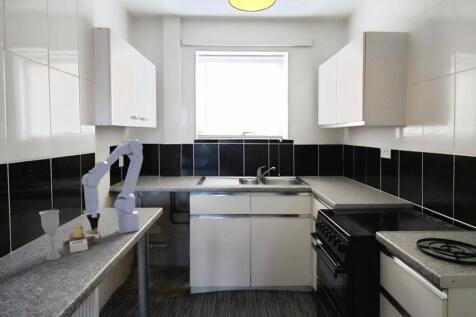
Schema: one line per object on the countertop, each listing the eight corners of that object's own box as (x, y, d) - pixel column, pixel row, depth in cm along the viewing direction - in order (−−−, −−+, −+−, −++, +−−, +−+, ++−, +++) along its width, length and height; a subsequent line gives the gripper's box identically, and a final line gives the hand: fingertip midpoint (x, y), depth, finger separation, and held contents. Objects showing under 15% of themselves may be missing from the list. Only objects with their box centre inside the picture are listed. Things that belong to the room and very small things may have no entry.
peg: (85, 240, 160) (83, 224, 159) (85, 242, 156) (84, 226, 155) (73, 241, 158) (72, 226, 157) (74, 244, 154) (72, 228, 153)
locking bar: (96, 231, 162) (96, 227, 162) (98, 237, 152) (98, 233, 152) (83, 233, 160) (83, 229, 160) (85, 240, 150) (84, 235, 150)
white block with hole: (86, 245, 153) (86, 238, 153) (87, 249, 148) (87, 242, 147) (70, 248, 150) (69, 241, 150) (70, 252, 145) (69, 245, 145)
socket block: (98, 235, 169) (98, 228, 168) (101, 242, 157) (101, 235, 157) (69, 239, 163) (68, 233, 163) (70, 247, 152) (69, 240, 151)
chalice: (67, 255, 142) (63, 210, 141) (53, 261, 136) (49, 214, 134) (53, 253, 144) (49, 209, 143) (38, 260, 138) (34, 213, 137)
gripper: (81, 199, 166) (84, 228, 168) (83, 204, 153) (85, 235, 154) (97, 197, 169) (100, 225, 171) (100, 202, 156) (103, 232, 158)
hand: (94, 230), depth 163 cm, fingers closed
